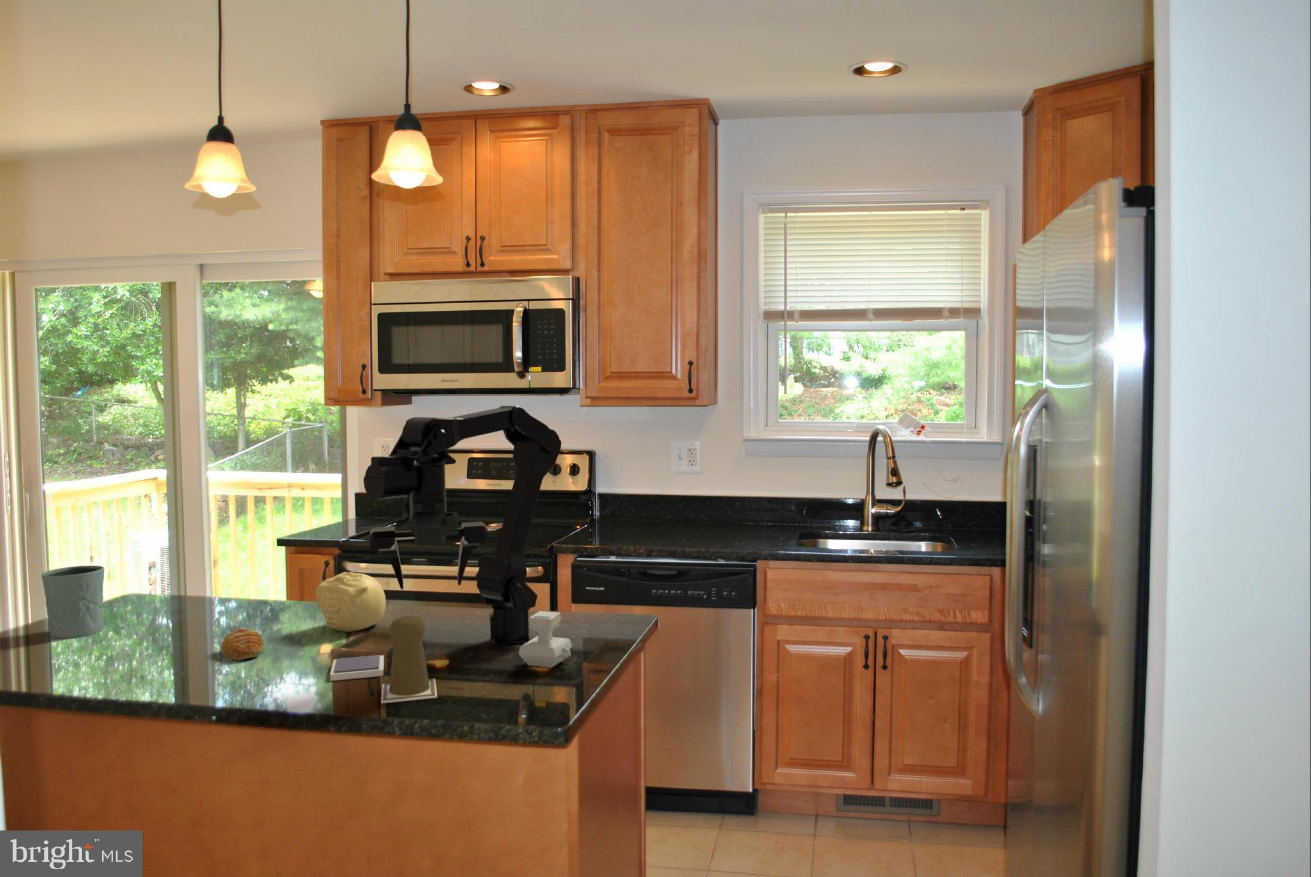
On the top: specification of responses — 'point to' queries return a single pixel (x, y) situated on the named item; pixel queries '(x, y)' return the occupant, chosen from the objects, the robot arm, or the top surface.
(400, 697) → the white flat square piece
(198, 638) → the top surface
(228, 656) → the pastry
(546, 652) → the stamp
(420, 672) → the brown peg figure
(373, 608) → the sculpture
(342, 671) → the ink pad
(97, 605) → the grey cup
